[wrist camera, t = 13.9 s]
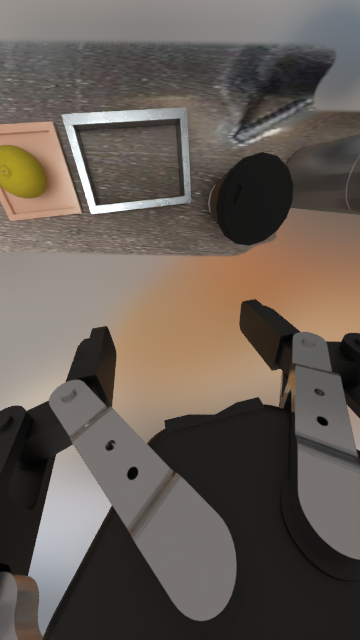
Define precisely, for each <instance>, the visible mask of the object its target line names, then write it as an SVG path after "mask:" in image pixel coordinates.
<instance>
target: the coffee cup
mask: <svg viewBox="0 0 360 640" xmlns="http://www.w3.org/2000/svg"><path fill="white" fill-rule="evenodd" d="M293 186H294V184H293V181H292V178H291V174H290V171H289V169H288V167H287V166H286V165H285V164H284V163H283V162H282V161H281V160H280V158H279V157H278V156H275V155H271V154H267V153H263V152H261V153H258V154H255V155H252V156H248V157H245V158H243V159H242V160H241V161H240V162H239V163H237V164H236V165H235V166H234V167H233V168H232V169H231V170H230V171H229V172H228V174H226V175H225V176H224V177H223V178H222V179H220V180H219V181H218V182H217V183H216V184H215V185H214V187H213V188H212V190H211V192H210V194H209V200H208V206H209V211H210V213H211V215H212V216H213V218H214V220H215V221H216V222H217V224H218V225H219V226H220V228H221V230H222V232H223V233H224V235H225V236H226V237H227V238H229V239H230V240H232V241H233V242H234V243H236V244H242V245H252V244H255V243H259V242H262V241H264V240H266V239H267V238H268V237H269V236H271V235H272V234H273V233H275V232H276V231H277V230H278V228H279V227H280V226H281V224H282V223H283V222H284V220H285V219H286V217H287V214H288V212H289V209H290V207H291V204H292V200H293Z"/></svg>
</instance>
